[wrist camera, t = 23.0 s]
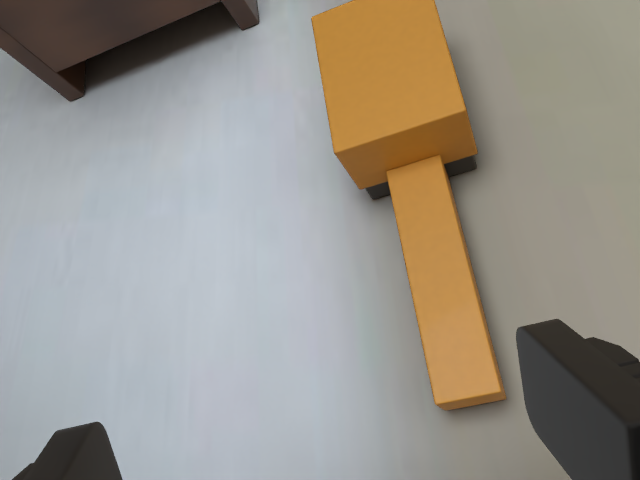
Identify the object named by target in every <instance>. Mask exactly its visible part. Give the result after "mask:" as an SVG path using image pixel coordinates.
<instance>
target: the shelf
mask: <svg viewBox="0 0 640 480" xmlns="http://www.w3.org/2000/svg"><path fill="white" fill-rule="evenodd" d="M220 1H222V3H223V4H224V6H225V7H226V8H227V10H228V11H229V13H230V14H231V15H232V17H233V18H234V20H235V21H236V22H237V24H238V25H239V27H240V28H241V29H242V30H244V29H246V28H248V27H251V26H253V25H256V24H258V23H259V18H258V10H257V2H256V0H0V48H1V49H3V50H4V51H5V52H7V53H8V54H9V55H11V56H12V57H13V58H14V59H16V60H17V61H18V62H20V63H21V64H22V65H23V66H25V67H26V68H27V69H29V70H30V71H31V72H32V73H34V74H35V75H36V76H38V77H39V78H40V79H42V80H43V81H44V82H45V83H47V84H48V85H49V86H51V87H52V88H53V89H54V90H56V91H57V92H58V93H60V94H61V95H62V96H63V97H65V98H66V99H67V100H69V101H72V100H75V99H77V98H80V97H82V96H84V88H85V64H86V60H87V59H89V58H91V57H93V56H96V55H98V54H100V53H103V52H105V51H107V50H110V49H112V48H114V47H116V46H119V45H121V44H123V43H126V42H128V41H130V40H133V39H135V38H137V37H140V36H142V35H144V34H146V33H149V32H151V31H153V30H156V29H158V28H160V27H163V26H165V25H167V24H169V23H172V22H174V21H176V20H179V19H181V18H183V17H186V16H188V15H190V14H193V13H195V12H197V11H199V10H202V9H204V8H206V7H209V6H211V5H213V4H216V3H218V2H220Z"/></svg>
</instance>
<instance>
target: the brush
mask: <svg viewBox="0 0 640 480" xmlns="http://www.w3.org/2000/svg"><path fill="white" fill-rule="evenodd" d="M311 20H312V26H313V31H314V37H315V43H316V49H317V55H318V61H319V67H320V73H321V79H322V85H323V90H324V96H325V102H326V108H327V114H328V120H329V126H330V132H331V138H332V143H333V149H334V153H335V155H336V156H337V158H338V159H339V160H340V162H341V163H342V165H343V166H344V168H345V169H346V170H347V172H348V173H349V175H350V176H351V178H352V179H353V181H354V182H355V183H356V185H357V186H358V188H359V189H364V188H366V190H367V191H368V193H369V194H370V196H371V197H372V199H376V198H379V197H382V196H386V195H389V194H391V198H392V203H393V208H394V212H395V217H396V222H397V226H398V231H399V236H400V241H401V245H402V250H403V255H404V260H405V264H406V269H407V274H408V279H409V283H410V288H411V293H412V298H413V302H414V307H415V312H416V317H417V321H418V326H419V331H420V336H421V340H422V345H423V350H424V354H425V359H426V364H427V369H428V373H429V378H430V383H431V388H432V392H433V397H434V402H435V404H436V405H437V406H439V407H440V408H442V409H443V410H452V409H457V408H462V407H468V406H473V405H478V404H483V403H489V402H494V401H499V400H504V399H506V395H505V391H504V387H503V383H502V379H501V376H500V372H499V368H498V364H497V360H496V356H495V353H494V349H493V345H492V341H491V337H490V334H489V330H488V326H487V322H486V318H485V315H484V311H483V307H482V303H481V299H480V296H479V292H478V288H477V284H476V280H475V277H474V273H473V269H472V265H471V261H470V258H469V254H468V250H467V246H466V242H465V239H464V235H463V231H462V227H461V223H460V219H459V216H458V212H457V208H456V204H455V200H454V197H453V193H452V189H451V185H450V181H449V178H448V177H449V176H452V175H456V174H459V173H462V172H466V171H469V170H472V169H475V168H476V162H475V159H474V155H475V154H477V152H478V151H477V148H476V144H475V140H474V136H473V132H472V129H471V125H470V121H469V117H468V114H467V110H466V106H465V103H464V99H463V96H462V93H461V89H460V86H459V83H458V79H457V76H456V72H455V69H454V66H453V62H452V59H451V55H450V52H449V49H448V45H447V42H446V38H445V35H444V32H443V28H442V25H441V21H440V18H439V15H438V11H437V8H436V5H435V1H434V0H353V1H350V2H348V3H345V4H343V5H340V6H338V7H335V8H333V9H330V10H328V11H325V12H323V13H320V14H318V15H315V16H313V17H312V18H311Z"/></svg>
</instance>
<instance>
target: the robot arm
mask: <svg viewBox="0 0 640 480" xmlns="http://www.w3.org/2000/svg"><path fill="white" fill-rule="evenodd" d="M516 341H517V349H518V356H519V364H520V371H521V378H522V385H523V392H524V400H525V405H526V409H527V413H528V416H529V419H530V421H531V424H532V426H533V428H534V430H535V432H536V433H537V435H538V436H539V438H540V439H541V440H542V442H543V443H544V444H545V445H546V447H547V448H548V449H549V451H550V452H551V453H552V454H553V456H554V457H555V458H556V460H557V461H558V462H559V463H560V465H561V466H562V467H563V469H564V470H565V471H566V473H567V474H568V475H569V476H570V478H571V479H572V480H640V362H639V360H638V359H637V358H636V357H634V356H633V355H632V354H630V353H629V352H627V351H626V350H625V349H623V348H622V347H621V346H618V345H615V344H612V343H609V342H606V341H603V340H600V339H597V338H594V337H592V338H588V339H584V338H583V337H581V336H580V335H579V334H578V333H576V332H575V331H574V330H572V329H571V328H570V327H569V326H567V325H566V324H565V323H563V322H562V321H561V320H559V319H554V320H549V321H545V322H540V323H536V324H531V325H527V326H523V327H519V328H518V329H517V332H516ZM12 480H122V477H121V474H120V471H119V468H118V465H117V462H116V459H115V456H114V453H113V450H112V447H111V444H110V441H109V438H108V435H107V432H106V430H105V428H104V427H103V425H102V424H101V423H99V422H93V423H89V424H84V425H80V426H76V427H71V428H67V429H62V430H58V431H56V432H55V433H54V434H53V436H52V437H51V439H50V440H49V442H48V443H47V445H46V446H45V448H44V449H43V451H42V452H41V454H40V455H39V457H38V458H37V459H36V461H35V462H34V463H31V464H29V465H28V466H27V467H26V468H25V469H24V470H22V471H21V472H20V473H19V474H18V475H17V476H15V477H14V478H13V479H12Z"/></svg>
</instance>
